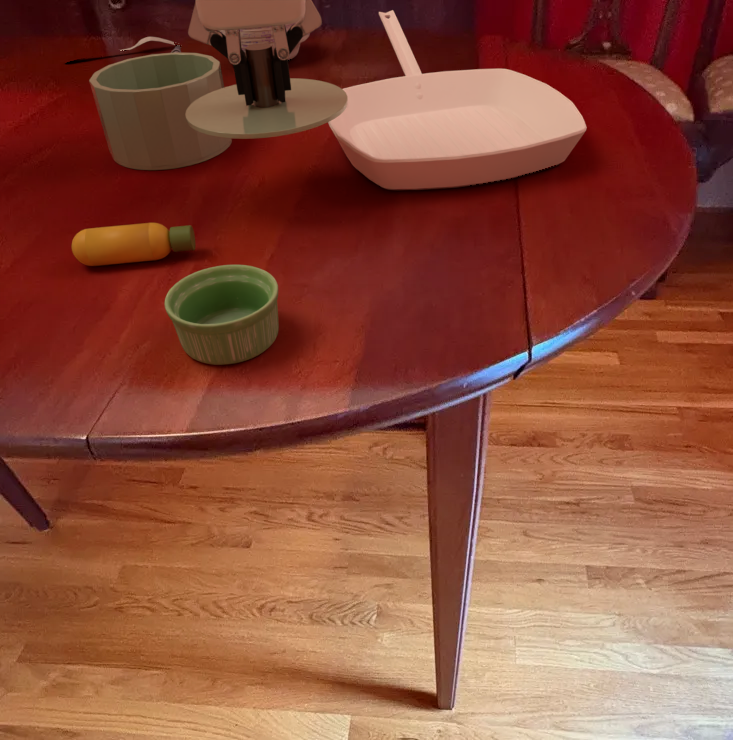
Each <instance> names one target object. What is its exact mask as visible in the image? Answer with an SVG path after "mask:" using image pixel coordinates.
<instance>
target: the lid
mask: <svg viewBox="0 0 733 740" xmlns="http://www.w3.org/2000/svg"><path fill="white" fill-rule="evenodd" d="M245 50H246V57H247V62H248V68H249V74H250V81H251V87H252V93H253V100H254V103H253V104H252V105H248V106H246V101H245V95H238V91H237V85H236V84H232V85H229V86H224V88H221V89H219V90H216V91H213V92H211V93H208V94H206V95H204V96H202V97H200V98H199V99H197V100H195V101H194V102H193V103H192V104H190V106H189V107H188V108H187V110H186V114H185V116H186V120H187V123H188V124H189V126H190V127H191V128H193V129H194V130H196V131H198V132H201V133H203V134H207V135H211V136H216V137H222V138H232V139H233V140H234V139H235V140H236V139H237V140H249V139H250V140H253V139H255V140H256V139H266V138H276V137H282V136H288V135H293V134H297V133H302V132H305V131H309V130H312V129H315V128H318V127H321V126H323V125H325V124H327V123H328V122H329V121H331V120H333V119H335V118H336V117H338V116H339V115H340V114H342V113H343V112H344V110H345V109H346V108H347V105H348V97H347V94H346V92H345V91H344V90H343V89H344V88H341V87H340V86H337V85H336V84H334V83H331V82H327V81H322V80H318V79H317V80H316V79H311V78H310V79H309V78H298V77H297V78H295V77H294V78H291V77H290V82H291V90H288V91H285V102H280V101H278V96H277V89H276V81H275V74H274V67H273V59H274V58H273V51H272V46H271V45H270V44H266V43H258V44H252V45H249V46H247V47H246V48H245Z"/></svg>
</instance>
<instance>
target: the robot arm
mask: <svg viewBox="0 0 733 740" xmlns="http://www.w3.org/2000/svg"><path fill="white" fill-rule="evenodd" d="M299 20H300V21H299ZM297 21H299V22H297ZM295 22H297V23H296V24H293V25H292V26H291V27H290V29H289V30H288V31H287V32H286V26H285V25H286V24H292V23H295ZM322 22H323V21H322V15H321V14H320V13H319V11H318V9H317V7H316V6H315V4H314V2H313V0H195V2H194V6H193V11H192V15H191V18H190V22H189V26H188V29H187V34H188V36H189V38H191V39H192V40H195V41H198V42H201V43H202V44H205V45H209V46H211V47H212V48H213V49H215V50H216V51H217V52H219V54H221V55H222V56H223V57H225V58H226V59H227V60H228V62H229V64H231V65H232V68H233V74H234V78H235V79H234V80H235V85H237V91H238V95H245V101H246V106H248V105H252V104H253V103H254V100H253V93H252V87H251V81H250V74H249V68H248V62H247V58H246V56H245V52H244V51H243V50H242V46H241V36H240V29H246V28H257V27H267V26H272V31H273V36H274V42H275V49H274V55H273V58H274V59H273V67H274V74H275V81H276V89H277V96H278V101H280V102H285V91H288V90H291V82H290V78H291V76H290V65H289V61H288V57H289V55H290V53H291V52H292V51H293V49H294V48H295V47H296V45H297V44H298V43H299V41H300V40H301V39H302V37H304V36H306V35H308V34H309V33H310V34H311V33H313V32H314V31H315V30H317V29H318V28H320V27H321V26H322V24H323V23H322ZM218 30H225V34H226V36H225V35H224V34H222V33H221V32H220V31H218Z"/></svg>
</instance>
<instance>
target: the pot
mask: <svg viewBox="0 0 733 740" xmlns="http://www.w3.org/2000/svg"><path fill="white" fill-rule="evenodd" d="M88 82H89V85H90V88H91V92H92V95H93V99H94V103H95V106H96V109H97V113H98V116H99V119H100V120H99V121H100V123H101V126H102V130H103V133H104V137H105V140H106V144H107V147H108V151H109V153H110V155H111V157H112V160H113V161H114V162H115V164H118V165H120V166H122V167H125V168H128V169H133V170H140V171H163V170H166V171H167V170H174V169H179V168H180V169H181V168H185V167H189V166H193V165H197V164H199V163H203V162H206V161H208V160H211V159H213V158H215V157H217V156H219V155H221V154H223V153H224V152H225V151H227V150H228V148H229V147H231V145H232V143H233V138H222V137H216V136H211V135H207V134H203V133H201V132H198V131H196V130H194V129H193V128H191V127H190V126H189V124H188V123H187V120H186V116H185V114H186V110H187V108H188V107H189V106H190V104H192V103H193V102H194V101H195V100H197V99H199V98H200V97H202V96H204V95H206V94H208V93H211V92H213V91H216V90H219V89H221V88H225V82H224V78H223V72H222V66H221V61H219V60H218V59H216V58H215V57H213V56H212V55H208V54H203V53H199V52H181V53H177V52H175V53H171V52H165V53H151V54H147V55H143V56H142V55H141V56H136V57H133V58H127V59H124V60H120V61H117V62H114V63H111V64H108V65H106V66H104V67H102V68H100V69H99V70H97V71H95V72H94V73H93V74H92V75H91V76H90V78H89V80H88Z"/></svg>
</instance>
